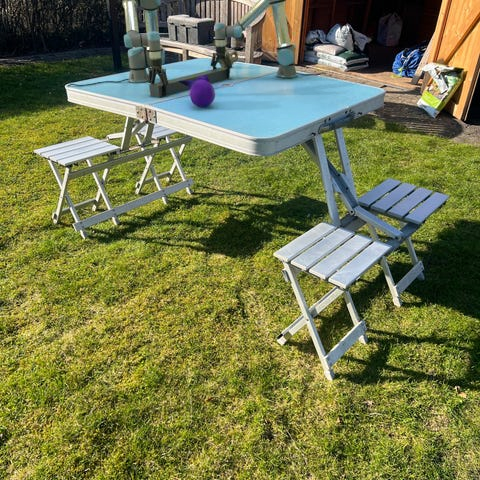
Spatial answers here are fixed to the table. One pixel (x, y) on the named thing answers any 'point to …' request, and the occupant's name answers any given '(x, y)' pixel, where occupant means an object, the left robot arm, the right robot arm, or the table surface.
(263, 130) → the table surface
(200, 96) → the toy
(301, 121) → the table surface
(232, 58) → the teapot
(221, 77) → the wide block
